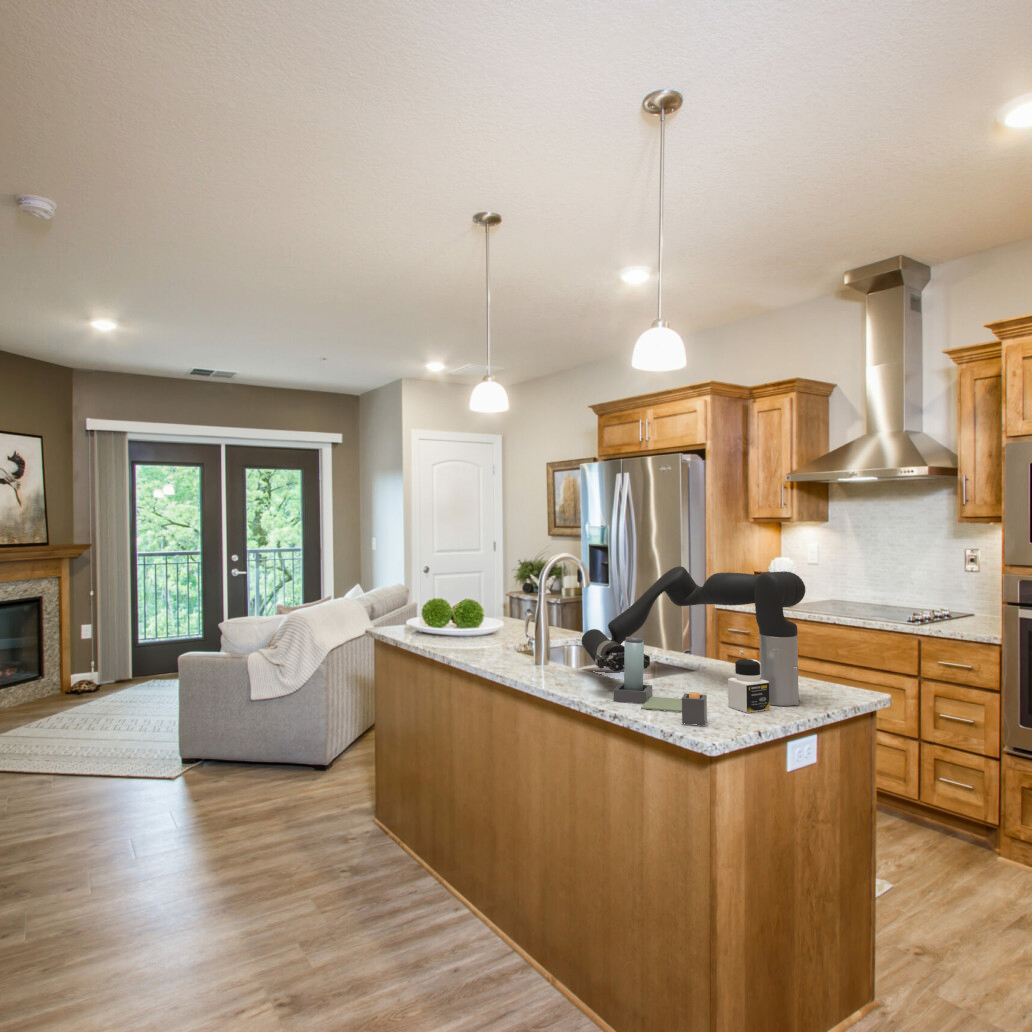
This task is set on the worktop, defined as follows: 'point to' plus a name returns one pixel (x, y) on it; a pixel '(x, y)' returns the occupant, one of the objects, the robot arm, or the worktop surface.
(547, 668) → the worktop surface
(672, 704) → the rubber mat
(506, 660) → the worktop surface
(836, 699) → the worktop surface
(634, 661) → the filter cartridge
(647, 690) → the cartridge socket
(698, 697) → the plunger
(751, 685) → the medicine bottle
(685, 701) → the gray square socket block
